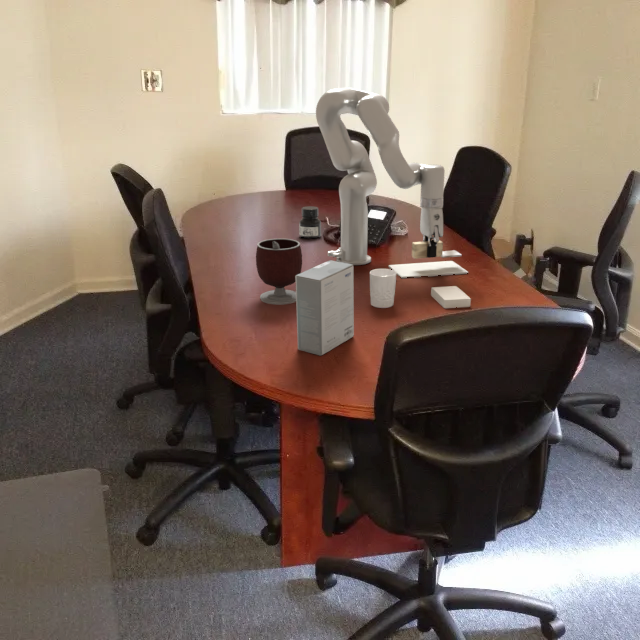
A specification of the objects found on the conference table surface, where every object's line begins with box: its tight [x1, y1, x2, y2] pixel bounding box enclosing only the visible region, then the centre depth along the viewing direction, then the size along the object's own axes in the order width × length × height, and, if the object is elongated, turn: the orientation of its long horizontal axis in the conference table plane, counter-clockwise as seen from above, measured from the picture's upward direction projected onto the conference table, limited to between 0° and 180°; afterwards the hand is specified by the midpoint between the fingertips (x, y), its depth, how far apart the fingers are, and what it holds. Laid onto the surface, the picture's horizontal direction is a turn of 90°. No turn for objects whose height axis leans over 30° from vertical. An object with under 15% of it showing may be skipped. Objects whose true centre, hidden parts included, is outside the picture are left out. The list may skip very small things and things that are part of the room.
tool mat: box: [388, 260, 469, 279], centre depth 233 cm, size 24×14×1 cm, turn 103°
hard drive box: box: [295, 260, 355, 357], centre depth 170 cm, size 16×8×20 cm, turn 145°
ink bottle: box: [298, 205, 322, 239], centre depth 276 cm, size 10×9×12 cm
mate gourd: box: [255, 238, 303, 306], centre depth 202 cm, size 16×14×20 cm
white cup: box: [369, 268, 397, 309], centre depth 199 cm, size 8×8×10 cm
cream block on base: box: [411, 239, 463, 260], centre depth 231 cm, size 16×6×5 cm, turn 103°
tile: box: [430, 285, 472, 309], centre depth 203 cm, size 8×3×12 cm
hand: (429, 255), depth 231 cm, fingers closed on cream block on base, 3 cm apart
